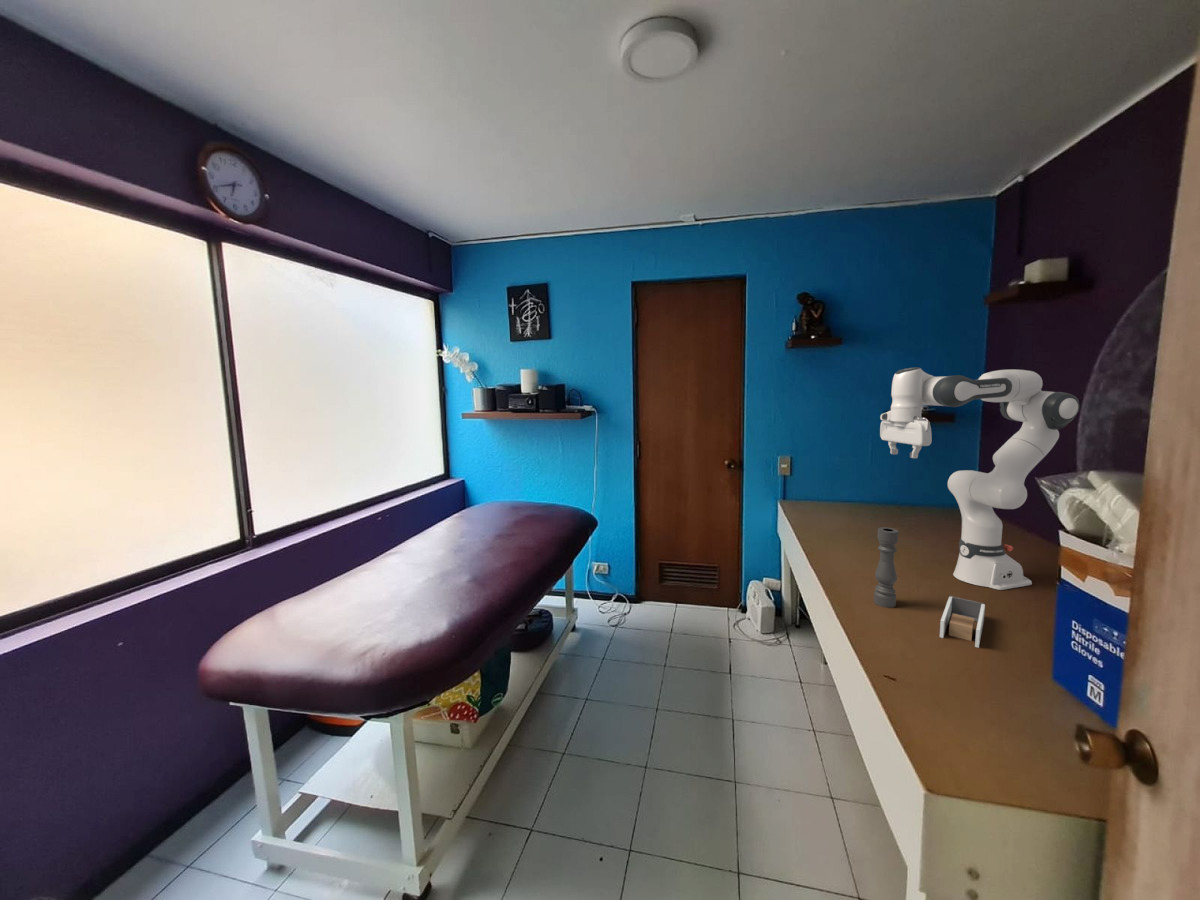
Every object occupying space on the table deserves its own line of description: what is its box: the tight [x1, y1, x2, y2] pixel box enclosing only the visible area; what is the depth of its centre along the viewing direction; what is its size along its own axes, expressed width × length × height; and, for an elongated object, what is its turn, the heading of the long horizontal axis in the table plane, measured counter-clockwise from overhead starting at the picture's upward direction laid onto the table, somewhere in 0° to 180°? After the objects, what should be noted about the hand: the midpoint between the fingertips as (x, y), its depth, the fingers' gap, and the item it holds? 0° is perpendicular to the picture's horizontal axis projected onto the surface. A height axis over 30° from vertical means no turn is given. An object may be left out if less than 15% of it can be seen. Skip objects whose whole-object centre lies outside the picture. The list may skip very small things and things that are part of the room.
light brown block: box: [948, 613, 975, 642], centre depth 131 cm, size 7×5×4 cm
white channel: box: [939, 595, 986, 648], centre depth 134 cm, size 20×9×5 cm, turn 137°
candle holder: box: [873, 526, 899, 609], centre depth 149 cm, size 6×6×25 cm
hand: (903, 456), depth 158 cm, fingers open, 8 cm apart
